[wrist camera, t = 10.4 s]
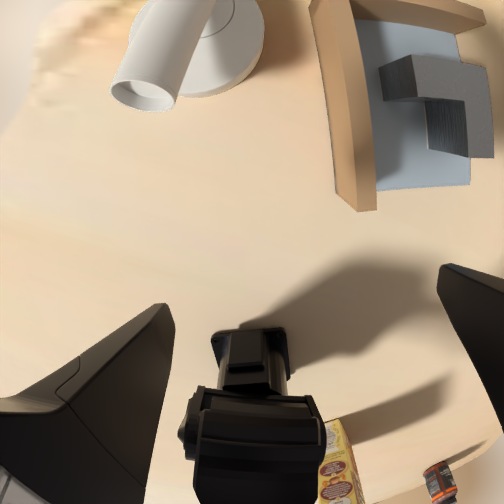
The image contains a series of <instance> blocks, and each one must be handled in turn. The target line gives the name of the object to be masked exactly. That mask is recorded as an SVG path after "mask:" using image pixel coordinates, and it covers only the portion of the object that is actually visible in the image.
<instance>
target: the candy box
mask: <svg viewBox="0 0 504 504" xmlns="http://www.w3.org/2000/svg"><path fill="white" fill-rule="evenodd" d="M324 425H325V428H326V433H327V447H326V454H325V458H324V460H323V463H322V464H321V466H320V467H319V470H318V499H319V504H365V501H364V496H363V492H362V487H361V483H360V479H359V474H358V470H357V466H356V462H355V458H354V454H353V450H352V446H351V444H350V441H349V439H348V437H347V435H346V432H345V430H344V428H343V426H342V424H341V422H340V420H339V419H336V420H333V421H330V422H327V423H324Z"/></svg>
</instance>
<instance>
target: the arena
mask: <svg viewBox="0 0 504 504" xmlns="http://www.w3.org/2000/svg"><path fill="white" fill-rule="evenodd" d="M308 8H309V12H310V17H311V21H312V26H313V31H314V35H315V40H316V46H317V51H318V56H319V62H320V68H321V73H322V79H323V86H324V92H325V99H326V106H327V113H328V121H329V129H330V138H331V147H332V156H333V167H334V178H335V190H336V194H337V195H338V196H340V197H341V198H342V199H343V200H344V201H345V202H347V203H348V204H349V205H350V206H351V207H352V208H353V209H354V210H356V211H357V212H364V211H373V210H377V196H376V191H385V190H397V189H410V188H424V187H440V186H458V185H470V158H467V157H463V156H459V155H455V154H450V153H446V152H441V151H437V150H432V149H428V134H427V122H426V113H425V104H424V103H420V102H393V101H383V96H382V89H381V83H380V77H379V71H378V67H381V66H383V65H385V64H388V63H390V62H393V61H395V60H397V59H400V58H402V57H405V56H407V55H410V54H415V55H422V56H430V57H436V58H442V59H448V60H453V61H458V62H460V57H459V52H458V48H457V43H456V39H455V35H454V34H457V33H460V32H463V31H466V30H469V29H472V28H476V27H479V26H482V25H486V24H487V23H486V20H485V17H484V13H483V10H481V9H479V8H476V7H473V6H471V5H468V4H465V3H462V2H459V1H456V0H312V1H311V3H310V5H309V7H308Z"/></svg>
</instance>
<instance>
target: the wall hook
mask: <svg viewBox="0 0 504 504" xmlns="http://www.w3.org/2000/svg"><path fill="white" fill-rule="evenodd" d="M263 42H264V19H263V16H262V12H261V10H260V8H259V6H258V4H257V3H256V1H255V0H149V1H148V2H147V3H146V4H145V5H144V6H143V7H142V8H141V10H140V11H139V13H138V14H137V16H136V18H135V20H134V22H133V24H132V27H131V30H130V34H129V42H128V47H129V48H128V50H127V52H126V54H125V56H124V58H123V60H122V62H121V64H120V66H119V68H118V70H117V72H116V75H115V77H114V79H113V81H112V84H111V86H110V88H109V92H110V94H111V96H112V97H113V98H114V99H115V100H116V101H118V102H119V103H121V104H123V105H125V106H127V107H130V108H133V109H136V110H140V111H145V112H165V111H168V110H170V109H172V108H173V107H174V105H175V102H176V99H177V96H182V97H189V98H202V97H208V96H213V95H217V94H220V93H222V92H225V91H227V90H229V89H231V88H233V87H234V86H236V85H237V84H239V83H240V82H241V81H243V80H244V79H245V78H246V77H247V76H248V75H249V74H250V73H251V71H252V70H253V69H254V67H255V66H256V64H257V62H258V60H259V58H260V56H261V53H262V49H263Z"/></svg>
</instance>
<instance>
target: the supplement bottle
mask: <svg viewBox="0 0 504 504" xmlns="http://www.w3.org/2000/svg"><path fill="white" fill-rule="evenodd" d="M423 476H424V479H425V482H426V485H427V488H428V491H429V494H430V497H431V500H432V503H433V504H455V503H456V502H457V500H456V498H455V495H456V493H457V487H456V484H455V481H454V479H453V476H452V474H451V471H450V469H449V466H448V464H447V462H441V463H438V464H436V465H434V466H432V467H430V468H429V469H428V470H426V471H425V472H424V474H423Z"/></svg>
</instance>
